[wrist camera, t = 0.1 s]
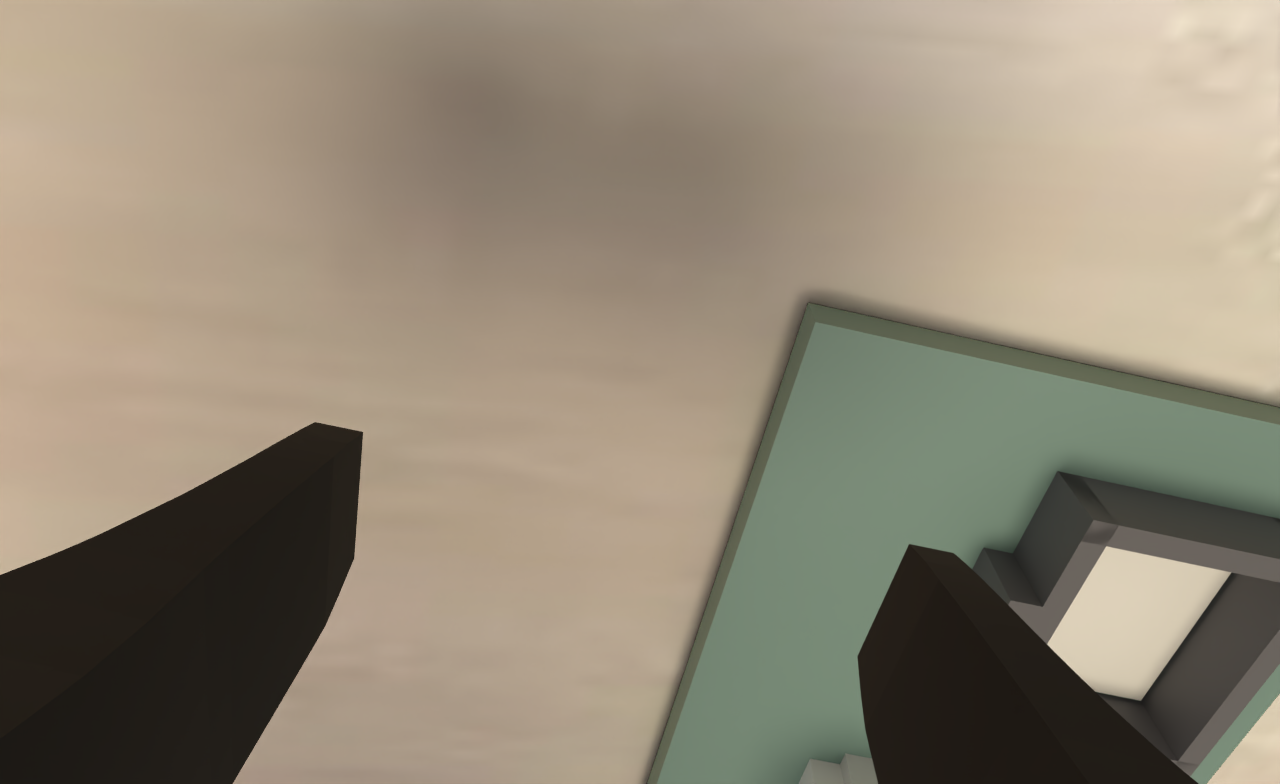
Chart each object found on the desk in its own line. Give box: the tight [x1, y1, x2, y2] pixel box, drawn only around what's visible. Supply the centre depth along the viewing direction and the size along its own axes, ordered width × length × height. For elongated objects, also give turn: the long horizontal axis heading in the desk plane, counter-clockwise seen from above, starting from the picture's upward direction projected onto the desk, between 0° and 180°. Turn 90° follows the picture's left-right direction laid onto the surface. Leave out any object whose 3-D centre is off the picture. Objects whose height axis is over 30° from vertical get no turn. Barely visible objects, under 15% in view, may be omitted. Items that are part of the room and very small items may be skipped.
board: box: [647, 303, 1280, 784], centre depth 24 cm, size 22×16×3 cm
